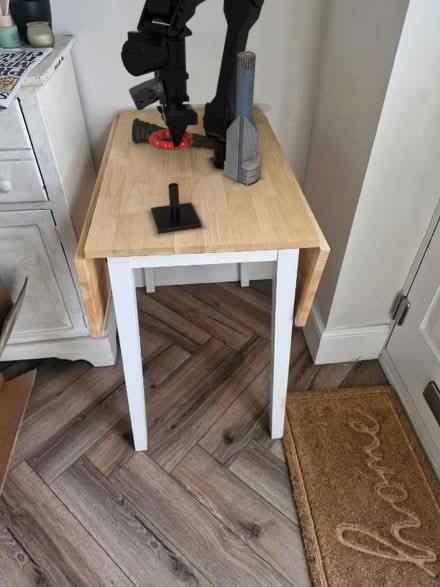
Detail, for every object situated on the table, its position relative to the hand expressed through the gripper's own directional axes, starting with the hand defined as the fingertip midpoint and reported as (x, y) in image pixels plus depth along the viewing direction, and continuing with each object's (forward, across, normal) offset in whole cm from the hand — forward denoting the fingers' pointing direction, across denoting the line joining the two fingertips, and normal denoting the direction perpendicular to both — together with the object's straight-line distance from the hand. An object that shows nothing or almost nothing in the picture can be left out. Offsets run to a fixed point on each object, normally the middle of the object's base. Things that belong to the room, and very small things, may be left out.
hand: (175, 145), depth 92 cm
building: (+11, -4, +17) cm, 21 cm away
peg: (+11, +12, -3) cm, 17 cm away
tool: (+11, -27, +7) cm, 30 cm away
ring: (0, -4, 0) cm, 4 cm away
